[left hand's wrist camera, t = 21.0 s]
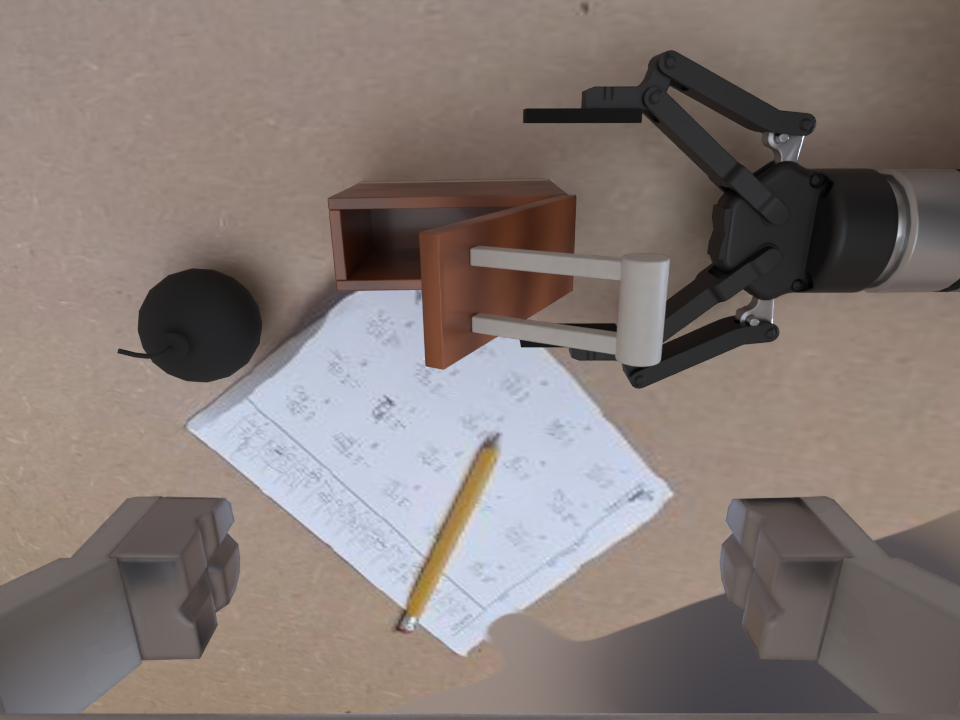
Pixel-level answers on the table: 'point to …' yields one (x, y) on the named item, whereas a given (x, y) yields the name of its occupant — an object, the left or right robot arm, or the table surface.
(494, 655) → the table surface
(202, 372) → the bomb
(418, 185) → the chest
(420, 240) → the lid
